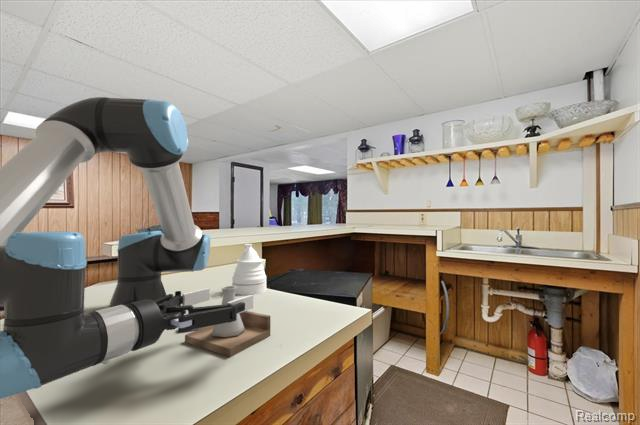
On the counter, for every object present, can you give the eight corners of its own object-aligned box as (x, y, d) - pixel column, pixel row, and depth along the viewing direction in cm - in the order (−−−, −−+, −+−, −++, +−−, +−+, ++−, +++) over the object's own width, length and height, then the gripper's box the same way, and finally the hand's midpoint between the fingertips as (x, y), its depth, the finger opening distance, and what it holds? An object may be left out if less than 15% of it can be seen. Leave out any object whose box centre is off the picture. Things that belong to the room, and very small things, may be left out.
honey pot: (262, 294, 103) (262, 245, 104) (227, 294, 103) (227, 245, 104) (269, 286, 116) (269, 242, 117) (237, 286, 116) (238, 242, 117)
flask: (216, 326, 67) (217, 284, 68) (248, 325, 68) (248, 283, 68) (206, 339, 60) (207, 291, 60) (241, 338, 61) (242, 290, 61)
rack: (184, 342, 62) (185, 321, 62) (227, 324, 73) (227, 307, 73) (230, 356, 55) (230, 333, 55) (270, 335, 66) (270, 315, 66)
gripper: (89, 336, 51) (192, 306, 70) (175, 371, 39) (272, 323, 58) (90, 294, 52) (193, 275, 70) (175, 316, 39) (272, 286, 58)
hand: (229, 297), depth 64 cm, fingers open, 13 cm apart
